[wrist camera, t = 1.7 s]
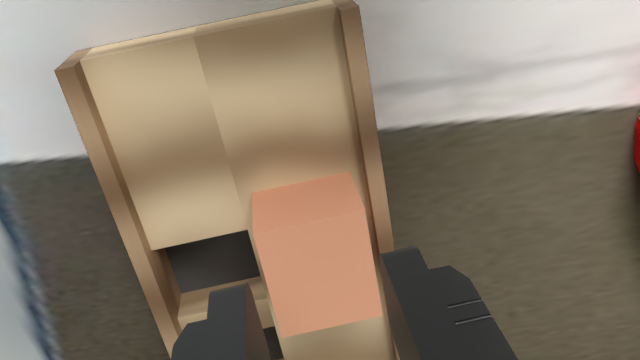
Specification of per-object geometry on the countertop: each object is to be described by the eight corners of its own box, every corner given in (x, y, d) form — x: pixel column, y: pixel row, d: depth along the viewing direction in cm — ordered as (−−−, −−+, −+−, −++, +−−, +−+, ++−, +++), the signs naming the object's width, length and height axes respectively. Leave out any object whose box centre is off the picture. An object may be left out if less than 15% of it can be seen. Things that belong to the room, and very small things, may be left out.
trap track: (76, 51, 27) (38, 84, 22) (345, -6, 27) (368, 14, 22) (215, 417, 38) (211, 493, 33) (404, 374, 38) (428, 443, 33)
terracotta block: (252, 192, 28) (253, 234, 25) (350, 171, 28) (365, 209, 25) (277, 288, 31) (281, 338, 27) (366, 268, 31) (382, 315, 28)
